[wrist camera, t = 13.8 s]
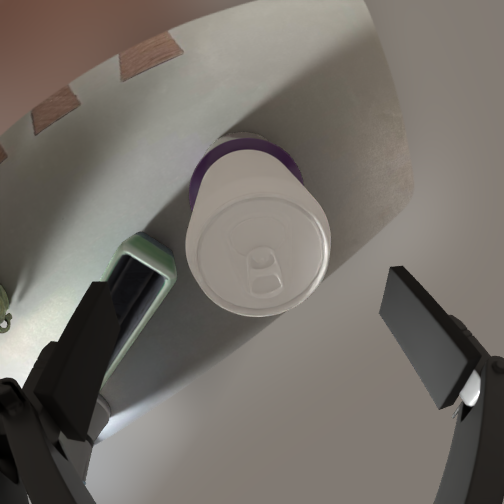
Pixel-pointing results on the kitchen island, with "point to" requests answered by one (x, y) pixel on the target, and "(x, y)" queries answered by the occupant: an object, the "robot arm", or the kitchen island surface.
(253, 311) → the beverage can
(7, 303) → the vessel
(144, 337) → the kitchen island surface
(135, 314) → the planter
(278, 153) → the jar
